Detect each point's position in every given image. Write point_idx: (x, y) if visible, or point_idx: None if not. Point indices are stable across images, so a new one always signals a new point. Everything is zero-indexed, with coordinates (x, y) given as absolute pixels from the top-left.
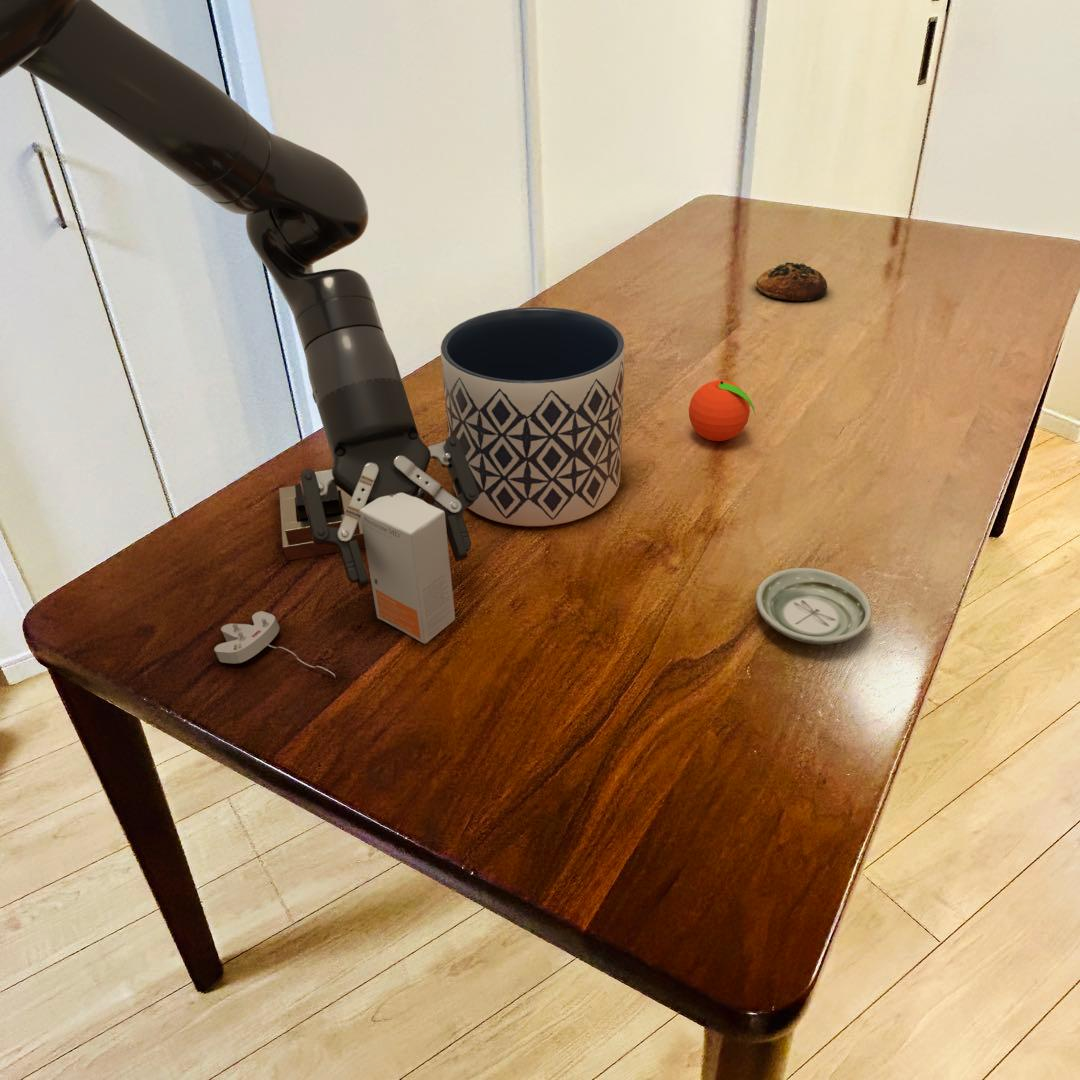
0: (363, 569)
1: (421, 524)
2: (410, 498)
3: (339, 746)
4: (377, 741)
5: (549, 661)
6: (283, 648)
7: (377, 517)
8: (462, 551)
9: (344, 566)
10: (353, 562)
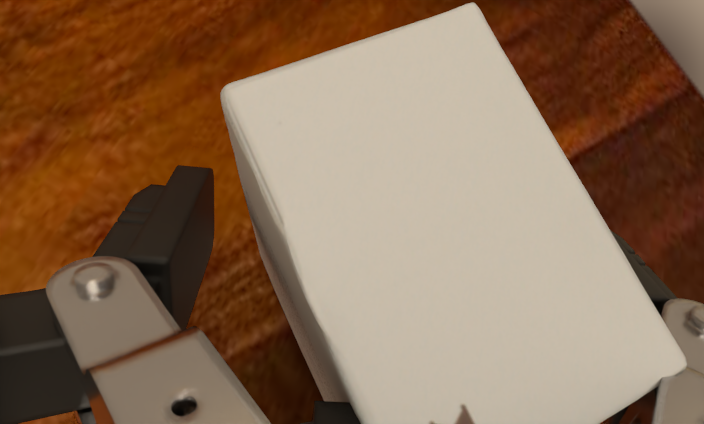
0: None
1: (397, 35)
2: (356, 329)
3: (585, 51)
4: (523, 28)
5: (142, 30)
6: None
7: (602, 231)
8: (192, 171)
9: None
10: None
